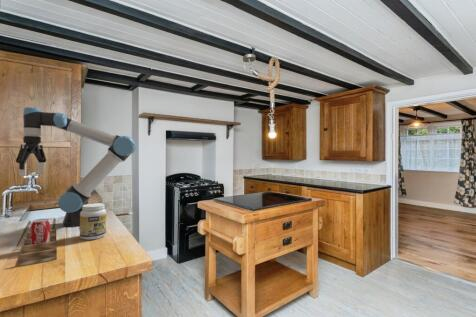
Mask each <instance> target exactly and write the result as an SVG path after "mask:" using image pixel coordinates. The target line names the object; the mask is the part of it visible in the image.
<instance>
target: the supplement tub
mask: <svg viewBox="0 0 476 317" xmlns="http://www.w3.org/2000/svg"><path fill="white" fill-rule="evenodd" d="M105 206H106V205H105V203H101V202H97V203H96V202H94V203H88V204H85V205H83V206H82V209H83V210H82V211H81V212H80V226H79V239H81V240H83V241H84V240H85V241H89V240H91V241H92V240H98V239H101V238H103V237H105V236H106V233H107V210H106V209H105V208H106V207H105Z"/></svg>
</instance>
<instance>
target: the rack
mask: <svg viewBox="0 0 476 317" xmlns="http://www.w3.org/2000/svg"><path fill="white" fill-rule="evenodd" d="M23 244H24V245H22V246H21V253H20V254H18V266H19V267H21V266H27V265H32V264H38V263H39V264H40V263H44V262H50V261H55V260H57V258H58V256H57V254H58V250H57V249H58V248H57V244H58V243H57V229H56V228H55V229H50V242H47V243H40V244H34V245H31V243H30V232H26V238H24V242H23Z"/></svg>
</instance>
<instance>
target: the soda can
mask: <svg viewBox="0 0 476 317" xmlns="http://www.w3.org/2000/svg"><path fill="white" fill-rule="evenodd" d="M50 225H51V224H50V222H49V219H48V218H37V219H34V220H32V223H30V230H29V231H30V232H29V233H30V243H31V245H34V244H40V243H47V242H50V230H51V226H50Z"/></svg>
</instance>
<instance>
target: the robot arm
mask: <svg viewBox="0 0 476 317" xmlns="http://www.w3.org/2000/svg"><path fill="white" fill-rule="evenodd" d="M22 117H23V138H22V139H23V140H22V141H23V143H24V144H21V143H20V149H19V152H18V154H17V156H16V160H15V162H16V163H17V164H19V165H18V167H19V176H20V177H26V176H27V162H26V161H27V160H28V159H29V157H30V155H31V154H34V156H35V158H36V160H37V161H38V162H37V163H36V164H37V165H36V166H37V175H43V174H44V163H46V162H47V158H46V154H45V152H44V147H43V144H42V145H41V143H42V137H41V136H42V126H43V127H55V128H58V129H60V130H62V131H66V132H69V133H71V134H74V135H76V136H80V137H82V138H86V139H88V140H90V141H93V142H96V143H99V144H101V145H104V146H107V147H108V148H107V153H106V154H105V155H103V157H102V158H101V159H100V161H99V160H98V162H97V163H96V165H94V167H93V168H92V169H91V170H90V171H89V172H88V173H86V175H84V177H83V178H82V179H81V180H80V181H79V182H78V183H73V184H72V185H71V186H68V187H66V190H65V192H64V193H62V194H61V195H60V196H59V198H58V201H57V205H58V207H59V209H60V210H61V211H63V212H64V213H65V214H64V215H65V216H64V218H63V221H62V226H64V227H80V212H81V211H82V210H83V209H82V206H83V205H85V204H89V200H90V198H92V197H91V196H92V192H94V190H95V189H96V188H97V187H98V186H99V184H101V183H102V181H104V179H105V178H107V176H108V175H109V174H110V173H112V171H113V170H114V169H115V168H116V167H117V166H118V165H119V163H122V162H125V161H126V160H127V159H128V158H129V157H130V156H131V155H132V154H133V153H134V152H135V150H136V143H135V139H133V138H131V137H130V136H127V135H118V134H115V135H114V134H111V133H108V132H106V131H103V130H101V129H98V128H95V127H92V126H89V125H87V124H85V123H81V122H79V121H76V120H74V119H71V118H68V116H67V115H66V114H65V113H63V112H62V113H61V112H46V111H45V112H44V111H42V109H41V108H39V107H33V106H28V107H25V108H23V115H22Z"/></svg>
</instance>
